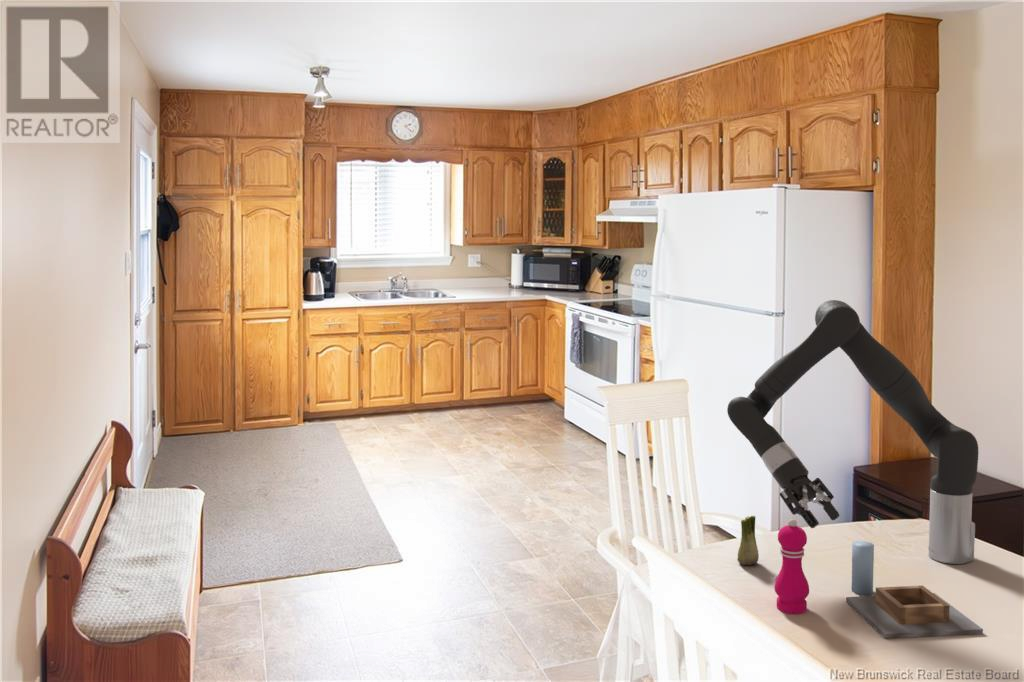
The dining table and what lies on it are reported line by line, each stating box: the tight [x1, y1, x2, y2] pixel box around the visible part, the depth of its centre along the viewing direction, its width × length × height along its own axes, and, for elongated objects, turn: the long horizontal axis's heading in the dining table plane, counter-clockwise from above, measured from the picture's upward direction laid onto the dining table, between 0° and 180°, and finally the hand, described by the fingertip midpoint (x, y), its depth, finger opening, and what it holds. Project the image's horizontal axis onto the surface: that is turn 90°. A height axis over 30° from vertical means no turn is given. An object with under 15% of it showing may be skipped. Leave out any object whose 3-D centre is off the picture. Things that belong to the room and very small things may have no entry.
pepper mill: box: [774, 518, 810, 615], centre depth 184 cm, size 7×7×20 cm
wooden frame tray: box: [845, 584, 984, 640], centre depth 179 cm, size 20×18×4 cm
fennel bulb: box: [736, 515, 759, 567], centre depth 210 cm, size 6×5×12 cm
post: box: [851, 540, 875, 596], centre depth 192 cm, size 4×4×11 cm
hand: (826, 522), depth 199 cm, fingers open, 8 cm apart
